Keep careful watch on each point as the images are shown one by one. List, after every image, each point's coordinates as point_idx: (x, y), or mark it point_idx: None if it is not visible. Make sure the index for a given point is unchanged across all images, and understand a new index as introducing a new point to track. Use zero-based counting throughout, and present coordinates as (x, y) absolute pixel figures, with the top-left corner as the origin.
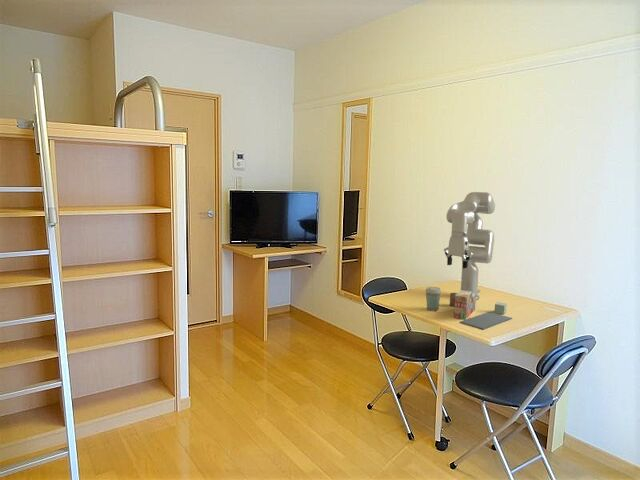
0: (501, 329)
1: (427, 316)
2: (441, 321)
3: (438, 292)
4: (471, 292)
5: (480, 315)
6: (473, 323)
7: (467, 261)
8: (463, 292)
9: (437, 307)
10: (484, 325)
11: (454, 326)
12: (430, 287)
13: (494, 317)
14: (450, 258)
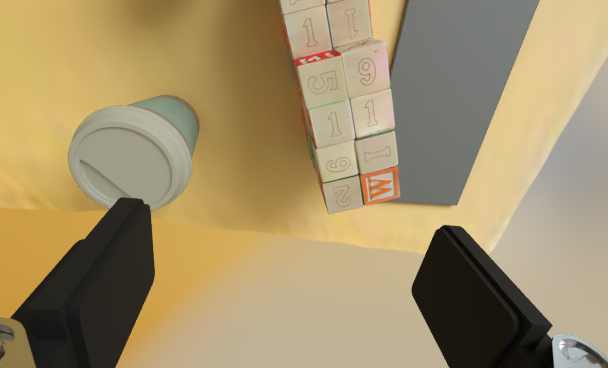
0: (512, 153)
1: (227, 221)
2: (300, 231)
3: (187, 178)
4: (387, 70)
5: (404, 51)
6: (411, 183)
7: (542, 343)
8: (342, 119)
9: (197, 130)
10: (453, 173)
11: (361, 241)
12: (82, 154)
13: (472, 29)
14: (95, 351)
